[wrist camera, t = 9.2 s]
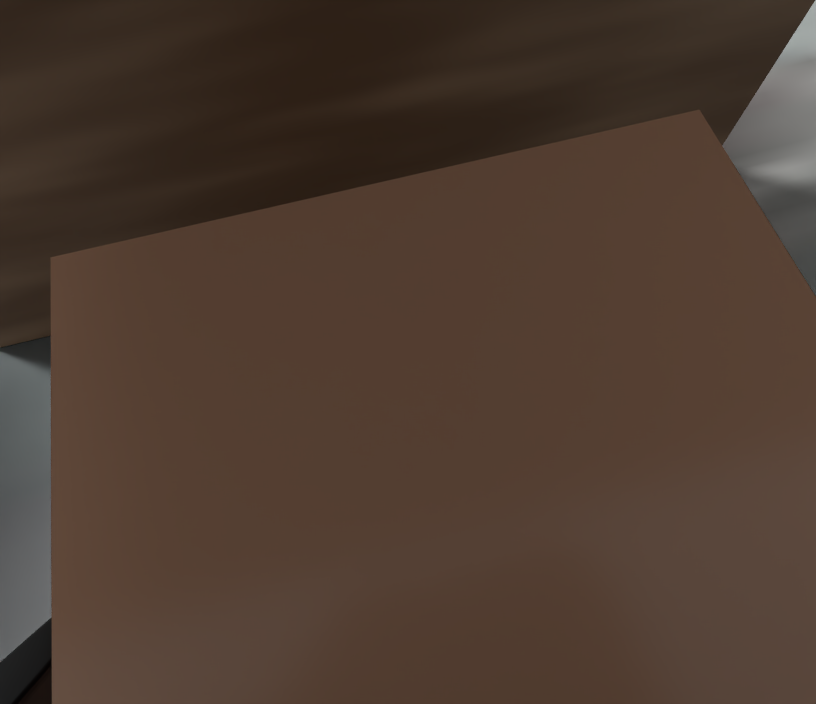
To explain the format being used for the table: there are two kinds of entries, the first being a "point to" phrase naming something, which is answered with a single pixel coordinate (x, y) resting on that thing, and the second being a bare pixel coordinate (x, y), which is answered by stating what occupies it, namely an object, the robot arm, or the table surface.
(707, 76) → the shelf
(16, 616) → the table surface
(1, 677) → the robot arm
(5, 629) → the table surface
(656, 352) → the terracotta box
